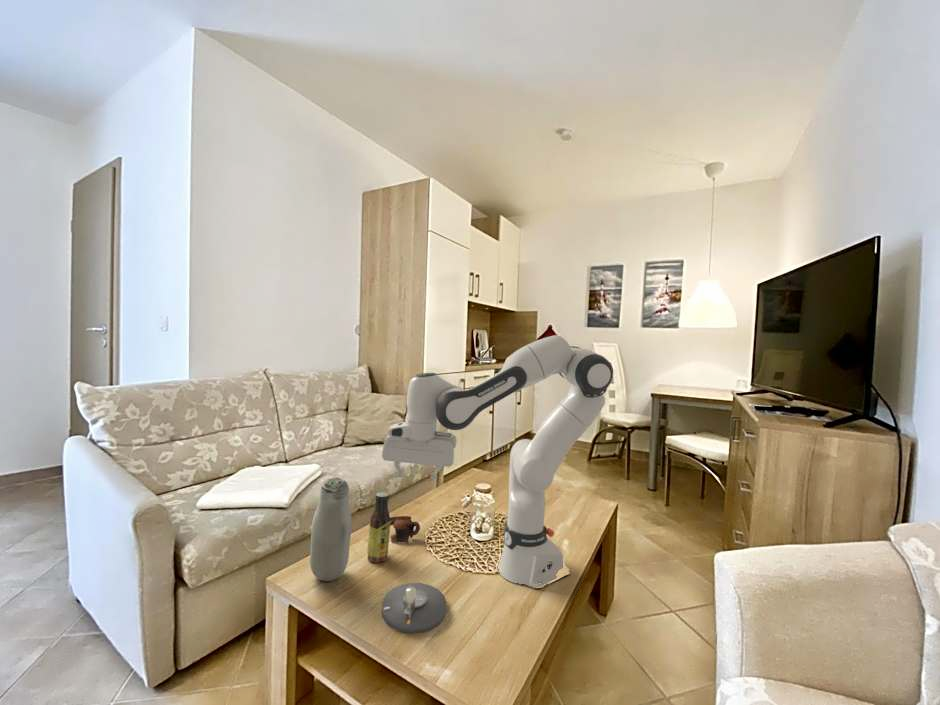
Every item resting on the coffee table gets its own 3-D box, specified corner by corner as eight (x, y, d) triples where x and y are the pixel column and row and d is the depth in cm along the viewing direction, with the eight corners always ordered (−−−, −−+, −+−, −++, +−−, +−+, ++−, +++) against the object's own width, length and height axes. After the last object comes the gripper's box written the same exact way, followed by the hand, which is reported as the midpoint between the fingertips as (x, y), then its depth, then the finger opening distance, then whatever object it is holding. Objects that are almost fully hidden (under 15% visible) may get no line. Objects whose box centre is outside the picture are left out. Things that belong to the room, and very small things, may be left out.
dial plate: (432, 584, 113) (432, 576, 112) (455, 623, 98) (456, 614, 98) (375, 597, 105) (375, 589, 105) (391, 641, 91) (392, 631, 91)
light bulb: (407, 591, 105) (408, 569, 105) (429, 595, 104) (431, 573, 104) (394, 616, 96) (396, 591, 95) (418, 621, 95) (420, 596, 95)
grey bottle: (301, 581, 109) (307, 481, 108) (326, 563, 119) (333, 470, 118) (330, 592, 106) (337, 488, 105) (354, 572, 115) (361, 476, 114)
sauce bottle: (382, 565, 120) (387, 500, 119) (363, 561, 121) (367, 497, 120) (391, 554, 126) (395, 492, 125) (372, 550, 127) (377, 489, 127)
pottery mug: (381, 543, 133) (382, 517, 137) (394, 544, 141) (394, 518, 145) (415, 541, 130) (415, 514, 134) (426, 541, 139) (425, 516, 142)
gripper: (458, 430, 115) (454, 478, 116) (388, 424, 117) (384, 471, 117) (456, 436, 109) (452, 486, 110) (382, 429, 110) (378, 478, 111)
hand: (416, 478), depth 113 cm, fingers open, 8 cm apart
